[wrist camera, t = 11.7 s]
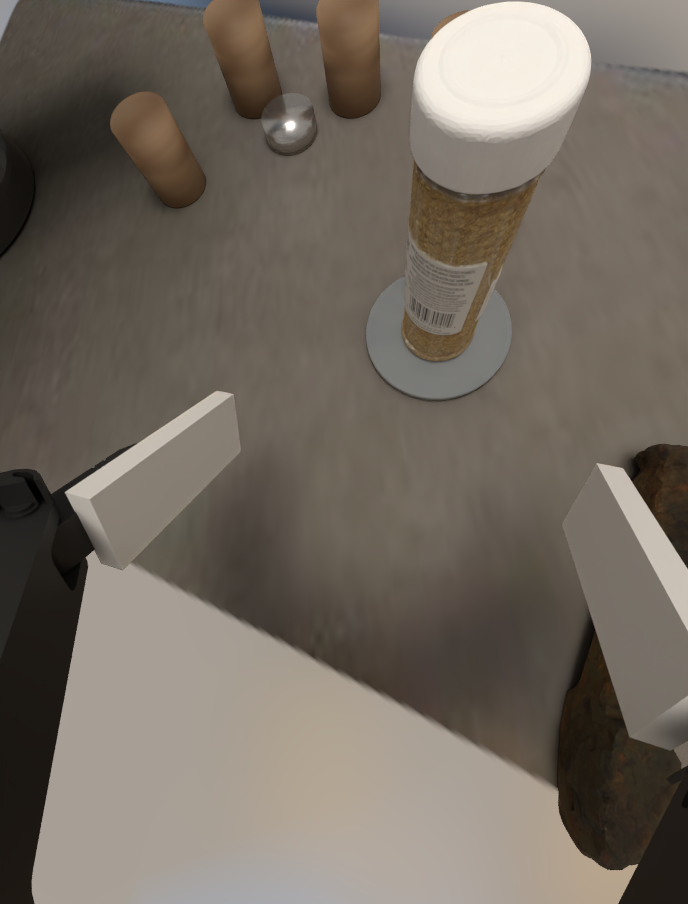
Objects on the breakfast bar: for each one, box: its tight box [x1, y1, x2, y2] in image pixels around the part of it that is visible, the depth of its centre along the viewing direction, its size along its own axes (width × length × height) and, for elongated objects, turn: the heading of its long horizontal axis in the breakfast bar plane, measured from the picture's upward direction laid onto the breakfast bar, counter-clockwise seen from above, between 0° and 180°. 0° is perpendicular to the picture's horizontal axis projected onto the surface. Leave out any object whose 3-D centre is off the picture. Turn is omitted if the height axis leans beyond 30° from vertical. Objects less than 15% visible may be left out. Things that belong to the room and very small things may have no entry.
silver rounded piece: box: [261, 93, 317, 156], centre depth 27 cm, size 4×4×2 cm
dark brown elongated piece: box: [558, 444, 688, 870], centre depth 16 cm, size 19×4×5 cm, turn 155°
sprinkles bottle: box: [401, 2, 591, 361], centre depth 16 cm, size 5×5×14 cm
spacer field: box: [110, 0, 471, 208], centre depth 24 cm, size 26×18×5 cm
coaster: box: [366, 276, 512, 401], centre depth 22 cm, size 9×9×1 cm
